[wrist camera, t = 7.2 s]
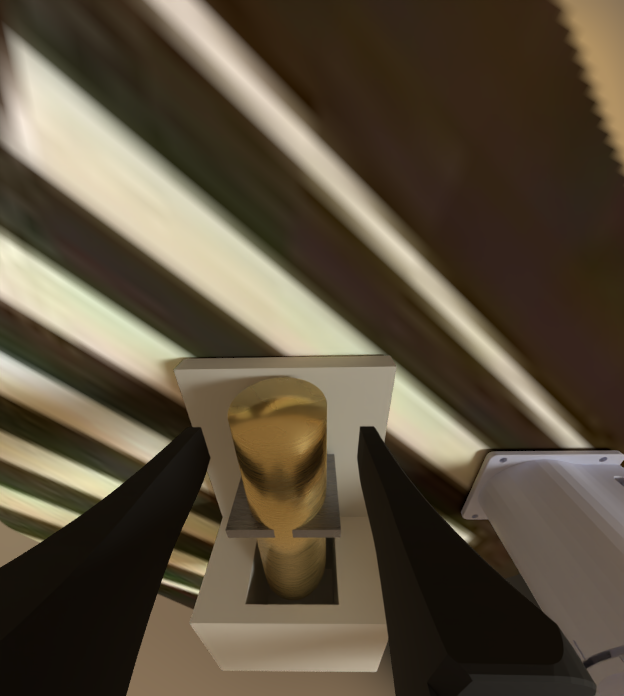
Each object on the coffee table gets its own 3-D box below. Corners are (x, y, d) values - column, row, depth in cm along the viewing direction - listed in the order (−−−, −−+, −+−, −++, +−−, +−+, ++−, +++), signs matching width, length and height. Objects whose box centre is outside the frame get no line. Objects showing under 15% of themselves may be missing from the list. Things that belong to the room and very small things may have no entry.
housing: (390, 355, 14) (451, 462, 8) (360, 559, 25) (376, 671, 19) (184, 358, 14) (80, 465, 8) (245, 559, 25) (222, 670, 19)
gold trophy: (336, 376, 13) (346, 443, 9) (332, 523, 19) (336, 600, 15) (231, 378, 13) (195, 445, 9) (262, 523, 19) (248, 600, 15)
